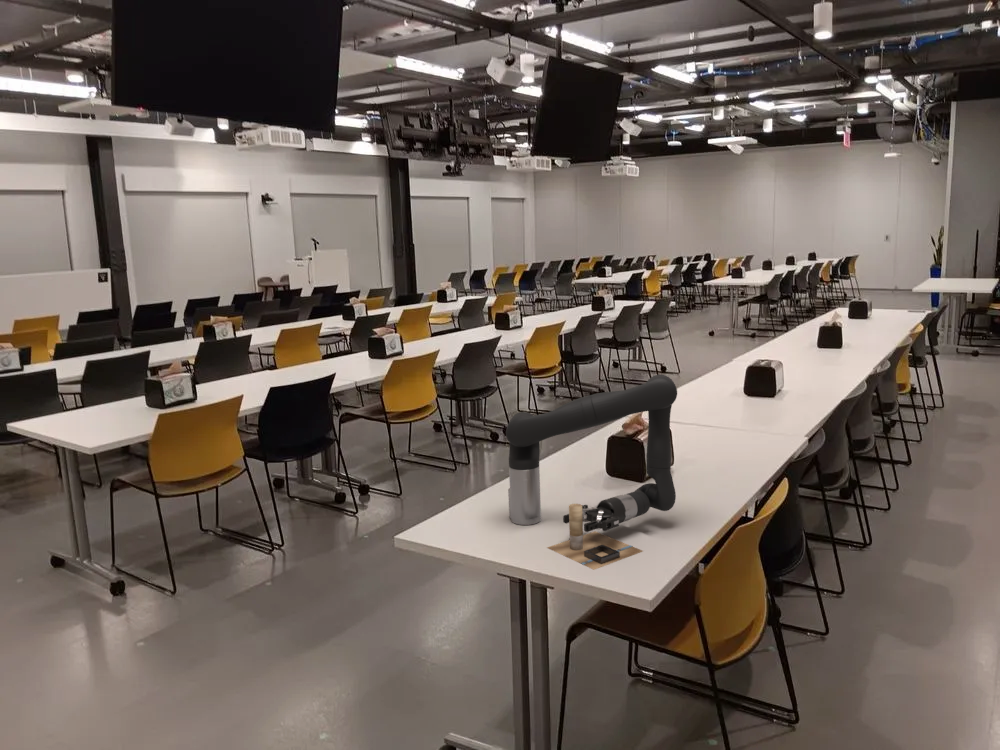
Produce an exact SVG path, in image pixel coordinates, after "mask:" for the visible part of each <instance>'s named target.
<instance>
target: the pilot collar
mask: <svg viewBox="0 0 1000 750" xmlns="http://www.w3.org/2000/svg"><path fill="white" fill-rule="evenodd" d="M600 552H604V553H607V554H608V555H606V556H603V557H600V556H598V555H596V554H597V553H600ZM584 557H587V558H589V559H591V560H593V561H595V562H598V563H600V564H603V563H606V562H609V561H611V560H614V559H617V558H619V557H620V552H618V551H616V550H614V549H611V548H609V547H607V546H604V545H600V546H597V547H594V548H591V549H589V550H586V551H584Z"/></svg>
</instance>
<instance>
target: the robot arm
mask: <svg viewBox="0 0 1000 750" xmlns="http://www.w3.org/2000/svg"><path fill="white" fill-rule="evenodd" d="M677 396H678V388H677V385H676V384H675V382H674V380H672V378H670V377H669V376H667V375H665V374H660V373H659V374H655V375H653V376H651V377H650V378H649V379H648V380H647V381H646V382H645V383H642V384H640V385H636V386H633V387H631V388H628V389H627V388H626V389H623V390H615V391H604V392H598V393H594V394H593V393H592V394H589V395H586V396H582V397H579V398H576V399H573V400H571V401H569V402H567V403H565V404H562V405H561V406H559V407H557V408H554V409H553V410H550V411H548V412H545V413H541V414H536V415H533V414H532V413H530V412H527V411H520V412H517V413H515V414H514V415H513V416H512V417H511V418H510V420H509V422H508V424H507V426H506V430H505V436H506V440H507V441H508V442H509V450H508V451H509V452H508V473H509V474H508V476H509V479H508V480H509V488H508V489H507V490H508V492H507V493H508V515H509V516H508V518H509V519H510V522H512V523H513V524H516V525H520V526H521V525H522V526H528V525H529V526H531V525H534V524H537V523H540V522H541V520H542V509H541V506H542V505H541V479H540V477H541V474H540V453H541V452H540V450H541V449H540V447H541V446H540V444H541V443H540V442H541V441H544V440H547V439H549V438H553V437H556V436H560V435H565V434H569V433H573V432H578V431H581V430H586V429H591V428H593V427H599V426H601V425H605V424H608V423H610V422H614V421H617V420H619V419H622V418H624V417H628V416H631V415H634V414H638V413H644V412H647V415H648V418H647V419H648V427H647V428H648V430H647V440H646V441H647V442H646V443H647V444H646V465H645V466H646V470H645V471H646V475H647V476H648V477H650V478H651V479H652V480H654V482H655V483H651V482H649V483H645V484H643V485H641V486H640V487H638V488H636V489H635V490H634V491H631V492H627V493H625V494H619V495H616V496H612V497H610V498H605V499H603V500H600V501H599V502H598V504H597V506H596V507H590V508H589V506H588V504H581V505H582V520H583V523H584V524H583V532H585V533H590V532H593V531H596V530H598V531H599V530H601V529H602V531H603V532H606V531H610V530H612V529H615V528H617V527H619V526H620V524H621V523H622V524H623V523H625V522H628V521H631V520H632V519H634V518H638V517H640V516H643V515H645V514H647V512H648V511H649V510H650V508H652V509H655V510H659V511H662V512H669V511H670V510H672V508H673V507H674V505H675V503H676V499H677V498H676V497H677V496H676V488H675V486H674V485H675V484H674V480H673V475H672V472H671V469H672V468H671V466H672V462H671V461H672V444H671V443H672V440H671V432H670V431H671V426H670V424H671V412H672V405H673V404H674V403H675V402H676V399H677ZM585 516H586V518H585ZM562 522H563V523H564V524H569V513H567V514H564V515H562Z"/></svg>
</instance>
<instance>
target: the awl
mask: <svg viewBox="0 0 1000 750" xmlns="http://www.w3.org/2000/svg"><path fill="white" fill-rule="evenodd" d="M582 505H583V504H580V503H571V504H569V505H568V514H569V523H568V524H569V525H568V526H569V527H568V528H569V529H568V530H569V531H568V532H569V540H570V549H571V550H582V549H583V535H584V524H583V523H584V522H583V520H582Z"/></svg>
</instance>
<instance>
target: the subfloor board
mask: <svg viewBox="0 0 1000 750" xmlns="http://www.w3.org/2000/svg"><path fill="white" fill-rule="evenodd" d="M600 545H604V546H607V547H609V548H611V549H614V550H616V551H618V552H620V557H619V558H617V559H614V560H611V561H609V562H606V563H603V564H600V563H598V562H595V561H593V560H591V559H589V558H587V557H584V551H586V550H589V549H591V548H594V547H597V546H600ZM546 549H549V550H551V551H553V552H555V553H557V554H559V555H561V556H563V557H566V558H567V559H570V560H572V561H574V562H576V563H579V564H581V565H583V566H585V567H588V568H589V569H591V570H594V571H595V570H597V569H601V568H603V567H605V566H606V567H607V566H608V565H611V564H613V563H616V562H618V561H621V560H625V559H626V558H629V557H632V556H635V555H637V554H640V553H642V552H644V550H642V549H640V548H637V547H635V546H633V545H631V544H627V543H625V542H623V541H620V540H618V539H615V538H613V537H610V536H608V535H606V534H603V533H600V532H598V531H596V530H593V531H590V532H587V533H586V534H583V549H582V550H571V549H570V539H568V540H565V541H563V542H560V543H556V544H554V545H551V546H547V547H546ZM596 555H598V556H600V557H603V556H606V555H608V554H607V553H604V552H600V553H597V554H596Z"/></svg>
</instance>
